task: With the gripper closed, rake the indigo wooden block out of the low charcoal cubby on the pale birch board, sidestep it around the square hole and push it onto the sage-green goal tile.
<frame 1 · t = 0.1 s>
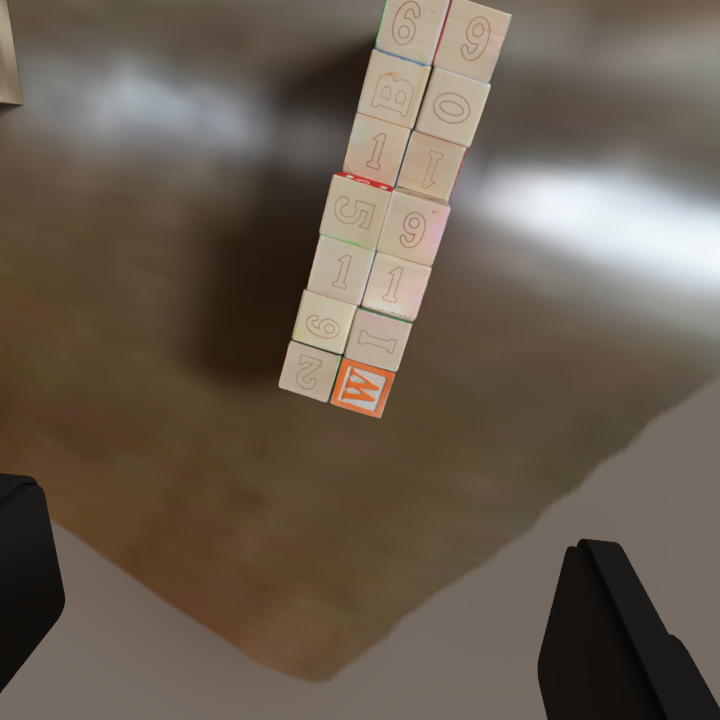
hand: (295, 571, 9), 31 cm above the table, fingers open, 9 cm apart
stack of blocks: (393, 203, 37), on the table
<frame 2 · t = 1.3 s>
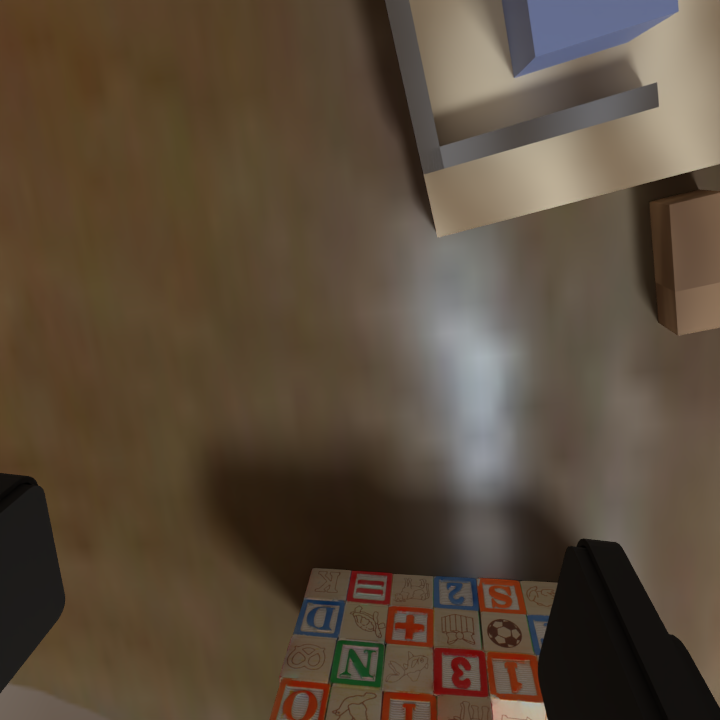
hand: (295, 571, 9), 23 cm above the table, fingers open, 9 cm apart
stack of blocks: (453, 604, 39), on the table
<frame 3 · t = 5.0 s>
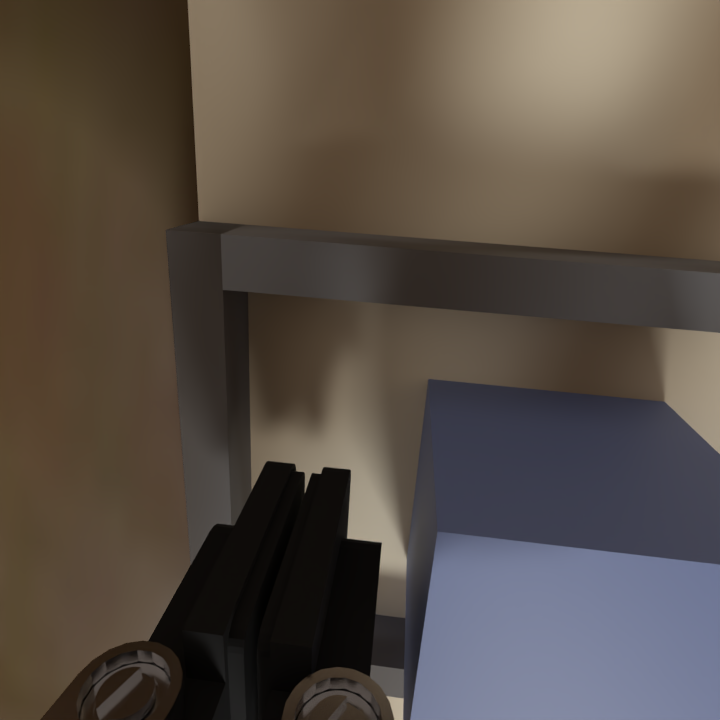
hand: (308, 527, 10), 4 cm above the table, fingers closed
indigo block: (523, 487, 12), point 2 cm above the table, touching gripper
board: (710, 438, 13), on the table
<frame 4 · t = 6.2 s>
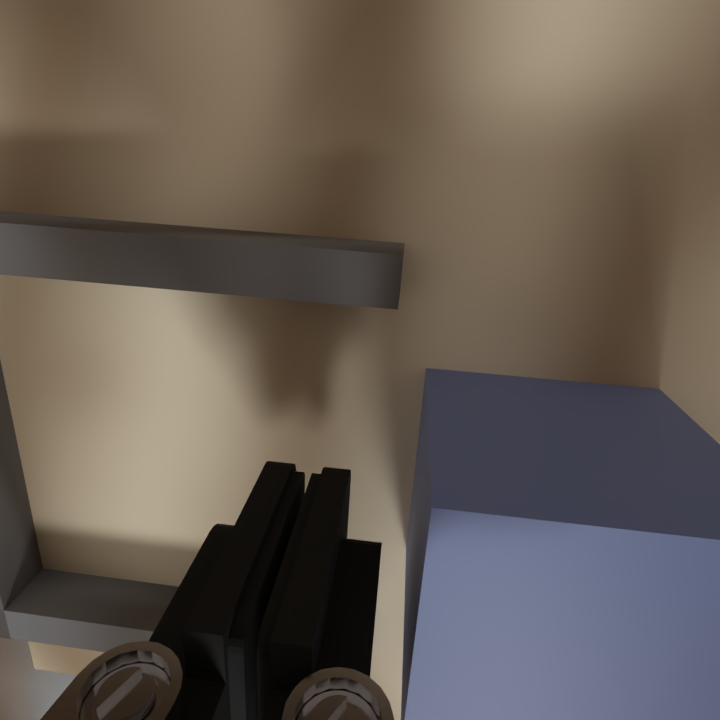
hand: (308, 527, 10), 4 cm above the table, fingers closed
indigo block: (521, 475, 12), point 2 cm above the table, touching gripper
board: (463, 416, 14), on the table
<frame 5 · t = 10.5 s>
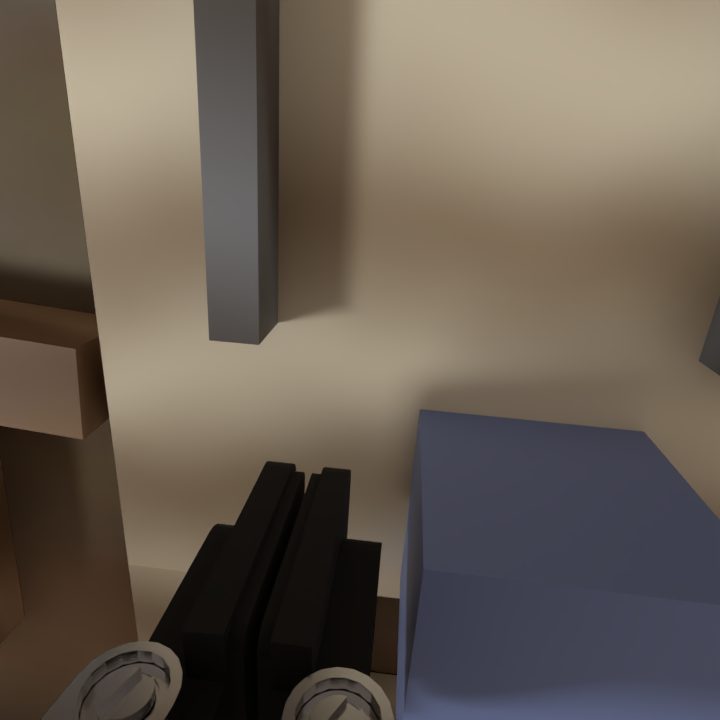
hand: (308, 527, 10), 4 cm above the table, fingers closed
indigo block: (511, 510, 13), point 2 cm above the table, touching gripper
board: (490, 390, 14), on the table
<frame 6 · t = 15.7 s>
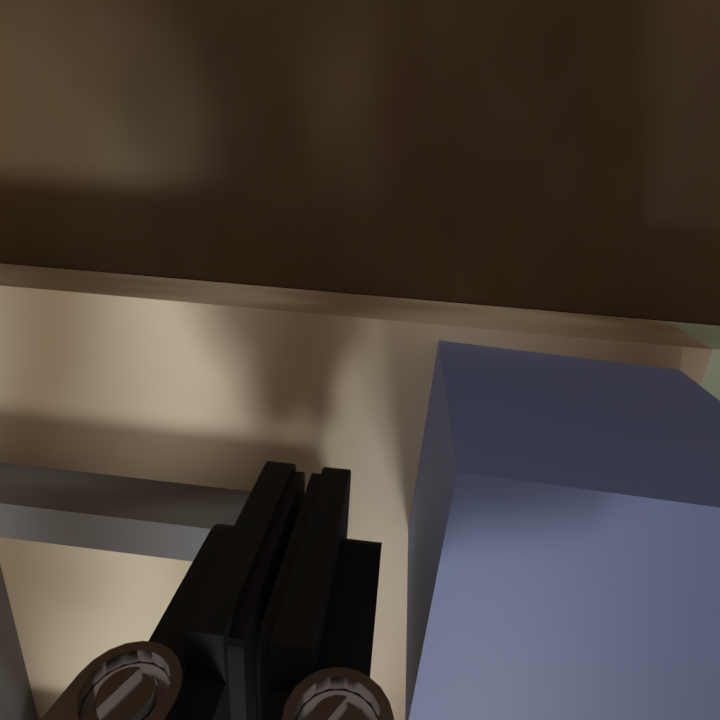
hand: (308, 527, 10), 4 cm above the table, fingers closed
indigo block: (531, 456, 12), point 2 cm above the table, touching board, gripper
board: (401, 594, 16), on the table
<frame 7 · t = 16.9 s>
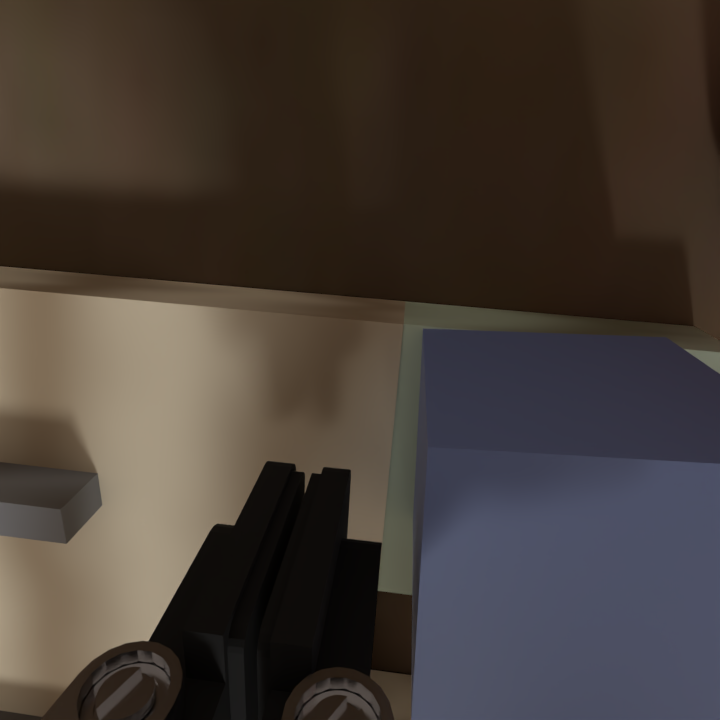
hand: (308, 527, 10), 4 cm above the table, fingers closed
indigo block: (527, 437, 12), point 2 cm above the table, touching gripper
board: (209, 569, 17), on the table
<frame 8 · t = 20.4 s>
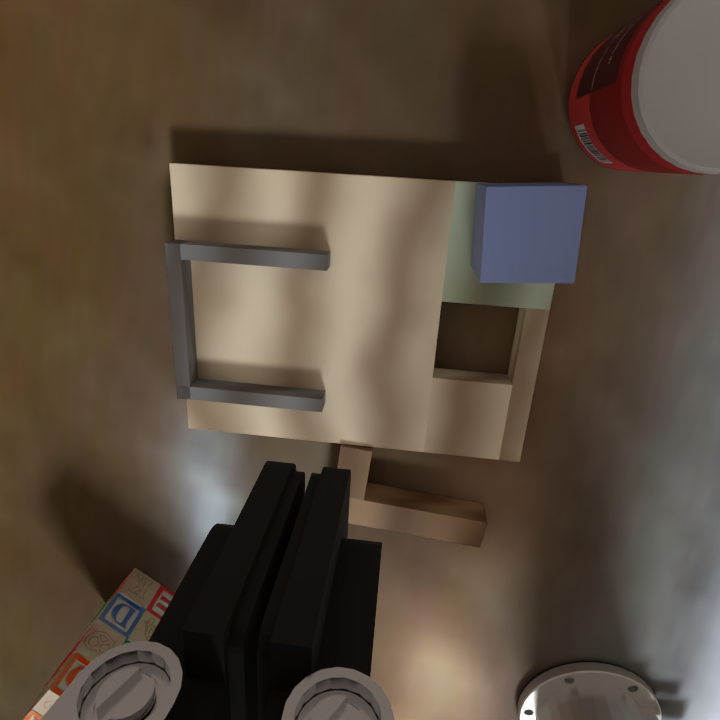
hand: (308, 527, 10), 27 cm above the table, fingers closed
stack of blocks: (211, 641, 51), on the table
walnut crook: (407, 502, 42), on the table
indigo block: (514, 225, 32), point 2 cm above the table, touching board
board: (360, 315, 37), on the table
canned food: (631, 102, 31), on the table
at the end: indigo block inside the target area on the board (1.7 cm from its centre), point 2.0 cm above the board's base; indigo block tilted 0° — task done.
